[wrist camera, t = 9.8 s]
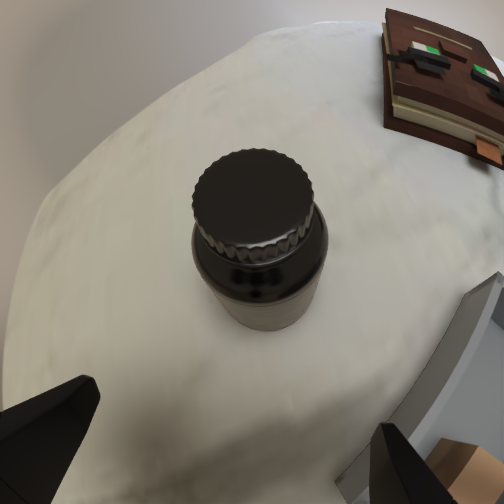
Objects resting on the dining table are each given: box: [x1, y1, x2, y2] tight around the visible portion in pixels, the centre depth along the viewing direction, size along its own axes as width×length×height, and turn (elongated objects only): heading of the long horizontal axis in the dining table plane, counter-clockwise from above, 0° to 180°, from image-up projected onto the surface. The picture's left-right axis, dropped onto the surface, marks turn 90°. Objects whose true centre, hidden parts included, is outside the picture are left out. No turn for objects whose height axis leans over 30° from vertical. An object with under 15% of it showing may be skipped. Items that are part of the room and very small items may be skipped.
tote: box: [335, 271, 504, 504], centre depth 14 cm, size 18×14×5 cm
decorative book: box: [382, 8, 504, 170], centre depth 28 cm, size 19×8×30 cm
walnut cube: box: [425, 438, 504, 504], centre depth 11 cm, size 5×5×5 cm
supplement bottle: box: [191, 148, 328, 331], centre depth 17 cm, size 7×7×12 cm
